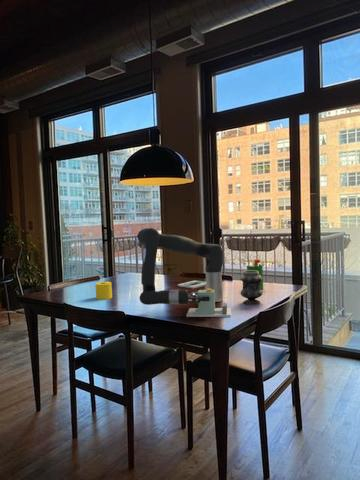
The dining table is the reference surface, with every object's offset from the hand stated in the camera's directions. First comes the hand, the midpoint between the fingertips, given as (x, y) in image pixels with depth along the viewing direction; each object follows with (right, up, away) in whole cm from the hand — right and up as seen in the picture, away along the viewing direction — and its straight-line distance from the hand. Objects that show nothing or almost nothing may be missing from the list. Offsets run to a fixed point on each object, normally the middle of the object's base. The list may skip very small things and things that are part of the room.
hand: (210, 296), depth 191 cm
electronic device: (-5, -4, +77) cm, 78 cm away
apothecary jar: (+25, -7, +20) cm, 33 cm away
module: (-2, -8, +1) cm, 8 cm away
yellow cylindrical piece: (-64, -8, +48) cm, 80 cm away
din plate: (0, -9, +3) cm, 9 cm away
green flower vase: (+35, -4, +56) cm, 66 cm away
